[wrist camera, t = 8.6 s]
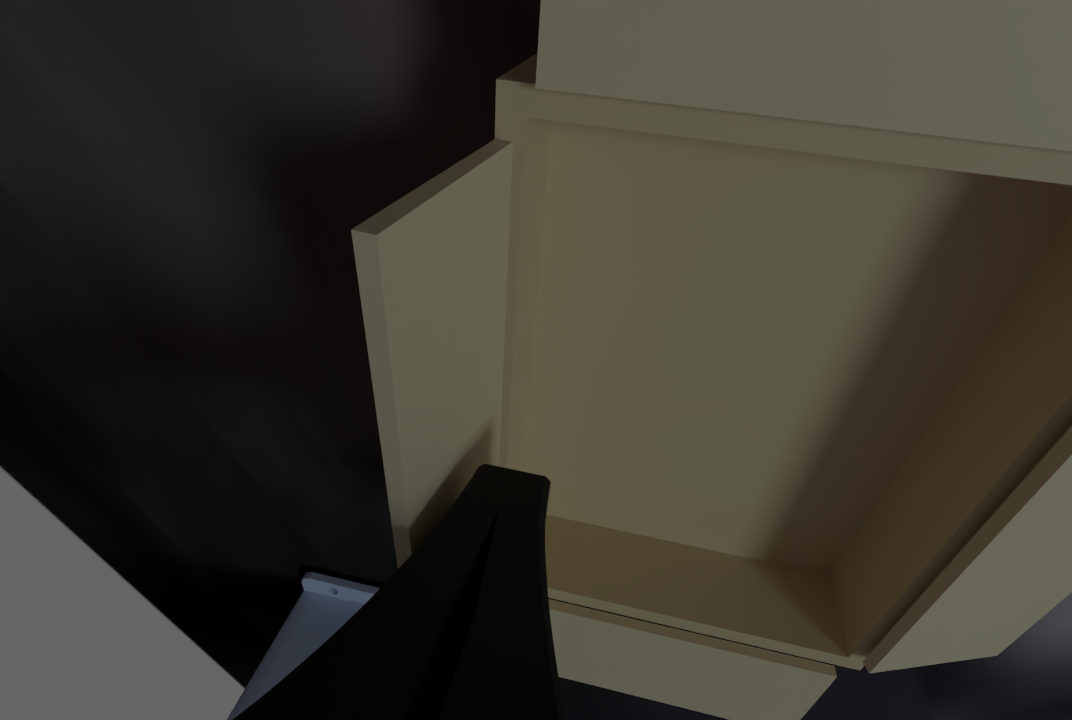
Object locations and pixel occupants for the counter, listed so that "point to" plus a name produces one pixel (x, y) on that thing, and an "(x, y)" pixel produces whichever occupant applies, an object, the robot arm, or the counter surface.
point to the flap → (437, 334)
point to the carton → (778, 320)
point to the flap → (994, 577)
